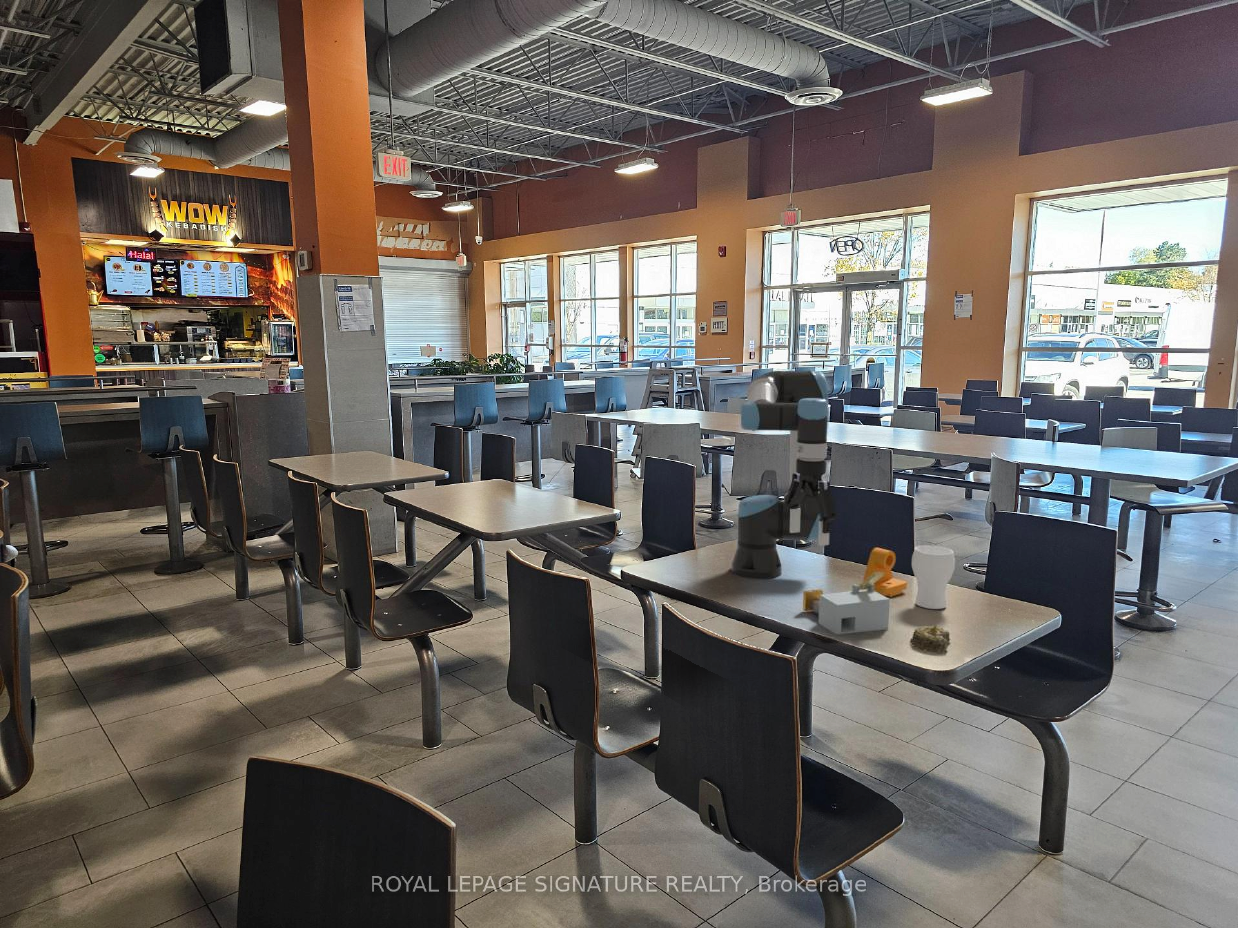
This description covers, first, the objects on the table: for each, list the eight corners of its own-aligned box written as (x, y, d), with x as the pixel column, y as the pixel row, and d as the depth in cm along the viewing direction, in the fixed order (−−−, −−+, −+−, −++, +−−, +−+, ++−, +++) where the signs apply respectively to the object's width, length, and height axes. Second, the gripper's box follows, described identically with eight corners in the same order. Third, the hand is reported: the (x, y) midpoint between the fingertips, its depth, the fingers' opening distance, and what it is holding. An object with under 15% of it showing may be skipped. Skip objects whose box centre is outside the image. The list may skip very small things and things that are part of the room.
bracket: (884, 598, 215) (886, 556, 213) (862, 592, 221) (863, 550, 219) (907, 591, 221) (909, 550, 219) (885, 584, 227) (887, 544, 225)
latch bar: (857, 590, 196) (855, 585, 196) (868, 589, 197) (867, 584, 197) (874, 576, 189) (872, 571, 189) (885, 575, 190) (883, 570, 190)
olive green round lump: (909, 652, 179) (910, 630, 178) (909, 637, 188) (911, 615, 187) (956, 658, 175) (958, 635, 174) (955, 642, 184) (956, 620, 184)
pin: (802, 609, 204) (803, 591, 203) (819, 607, 205) (820, 589, 204) (828, 625, 192) (828, 606, 191) (846, 623, 194) (846, 604, 193)
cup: (909, 608, 207) (912, 553, 205) (909, 596, 217) (912, 543, 214) (953, 613, 203) (956, 556, 201) (951, 600, 213) (954, 546, 211)
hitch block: (818, 625, 195) (819, 587, 194) (868, 619, 199) (870, 582, 198) (836, 637, 188) (837, 597, 186) (888, 630, 192) (889, 591, 190)
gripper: (773, 452, 213) (771, 528, 217) (826, 467, 190) (823, 552, 193) (797, 450, 215) (795, 526, 219) (852, 465, 192) (849, 549, 196)
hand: (808, 538), depth 206 cm, fingers open, 13 cm apart
